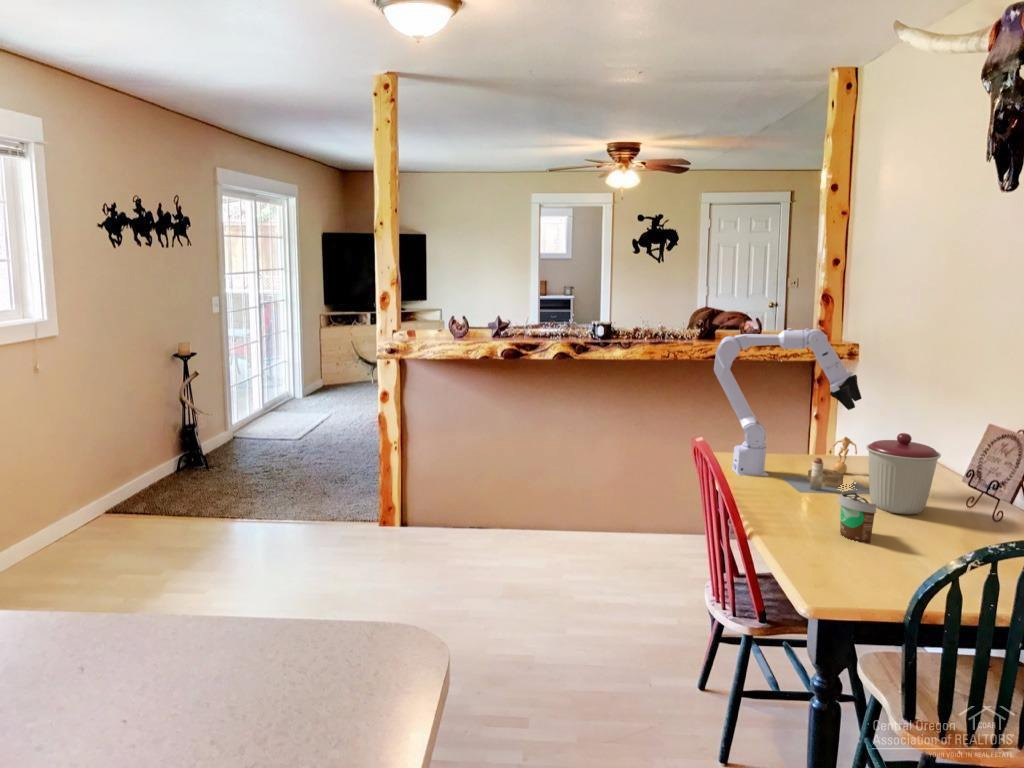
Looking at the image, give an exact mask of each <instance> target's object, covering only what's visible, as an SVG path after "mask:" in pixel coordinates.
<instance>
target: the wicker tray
mask: <svg viewBox="0 0 1024 768" xmlns="http://www.w3.org/2000/svg"><path fill="white" fill-rule="evenodd" d="M811 474H812V468H811V469H808V472H807V477H808V481H809V482H811ZM844 476H845V474H842V473H840V472H839V471H834V469H829V468H823V475H822V486H829V487H838V486H840V485H842V484H843V478H845V477H844Z"/></svg>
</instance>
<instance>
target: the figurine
mask: <svg viewBox="0 0 1024 768" xmlns="http://www.w3.org/2000/svg"><path fill="white" fill-rule="evenodd" d="M838 443H841V444H842V447H840V449H839V451H838V454H837V455H838V456H839V459H838V461H837V462H836V463H835V464H833V469H832V470H834V471H839V472H840V473H842V474H843V475H845V474H846V472H847V471H848V468H847V467H848V466H847V465H846V464H845V462H846V459H847V455H848V453H849V451H850V449H849V446H850V445H852V446H854V454H855V455H857V454H858V450H857V449H858V448H857V444H856V443H854V441H852V440H851V439H850V438H849V437H847V436H844V437H843V438H842V439H838V440H837V441H835V443H834V444H833V445H832V446H831V448H830V450H831V451H832V449H833V448H834V447H835V446H837V444H838ZM841 454H843V461H842V455H841Z"/></svg>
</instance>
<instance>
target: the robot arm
mask: <svg viewBox="0 0 1024 768" xmlns="http://www.w3.org/2000/svg"><path fill="white" fill-rule="evenodd" d="M753 346H755V347H756V346H779V347H781V349H783V350H805V349H807V348H809V349H811V351H812V352H813V354H814V357H815V359H816V361H817V363H818V364H819V366H820V367H821V369H822V371H823V372H824V374H825V375H824V376H825V377H827V379H828V381H829V384H830V385H829V388H830V390H831V391H830V392H829V395H830V396H831V397H832V398H834V399H836V400H837V401H838V402H839V403H840V404H842V406H844V407H845V408H846V409H847V411H850V410H852V409H855V408H856V404H855V403H854V402H857V401H860V400H861V399H862V395H861V392H860V389H859V384H858V376H857V374H854V373H853V372H852V371H851V370H850V369H846V367H845V366H844V363H843V362H842V361H841V359H840V357H839V355H838V354H837V351H836V350H835V349H834V348H833V347H832V344H831V342H829V341H828V335H827V334H826V333H824V331H822V330H820V329H817V328H816V329H815V328H812V329H809V327H808V328H804V329H793V328H792V327H787V328H786V329H784V330H782V331H781V332H780V333H778V334H774V333H773V334H769V333H768V334H767V333H766V334H765V333H764V334H763V333H760V334H758V333H745V334H744V333H743V334H735V335H728V336H724V337H723V338H722V339H721V340H720V343H719V344H718V346H717V348H716V351H715V358H714V365H713V371H714V374H715V376H716V378H717V380H718V382H719V384H720V386H721V387H722V389H723V391H724V394H725V396H726V397H727V399H728V401H729V403H730V406H731V407H732V410H733V411H734V412H735V415H736V417H737V418H738V420H739V423H740V425H741V428H742V430H743V432H744V441H742V444H739V445H738V444H736V445H735V446H734V448H733V455H732V466H731V470H732V471H734V473H736V475H738V476H754V477H755V476H757V477H758V476H761V477H763V476H765V477H769V476H770V475H769V473H767V472H766V471H765V469H766V468H765V467H766V457H767V455H766V454H767V444H765V443H766V440H767V434H766V428H765V427H764V425H763V424H762V423H761V422H759V420H757V418H756V415H755V414H754V413H753V411H752V409H751V407H750V406H749V405H750V404H748V402H747V399H746V397H745V396H744V394H743V392H742V389H741V388H740V386H739V384H738V382H737V380H736V378H735V376H734V374H733V373H732V371H731V367H732V365H733V361H734V360H735V359H736V358H737V357H738V356H739V354H740V352H741V350H742V351H743V352H744V351H745V350H747V349H749V348H751V347H753ZM741 348H742V349H741Z"/></svg>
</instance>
